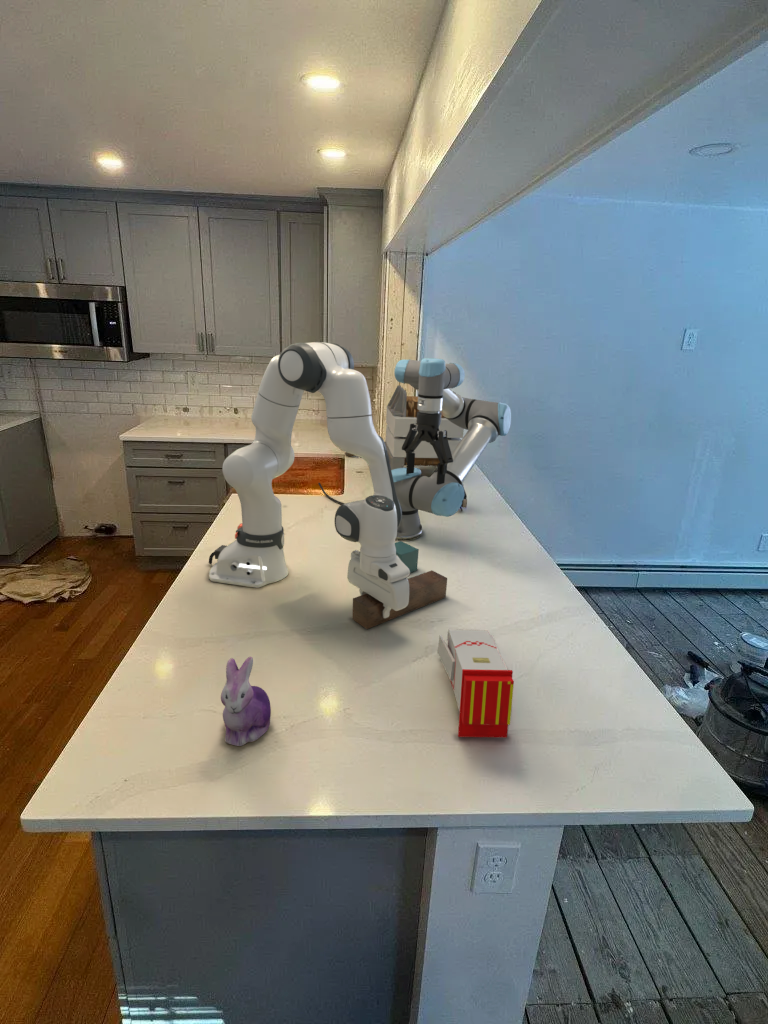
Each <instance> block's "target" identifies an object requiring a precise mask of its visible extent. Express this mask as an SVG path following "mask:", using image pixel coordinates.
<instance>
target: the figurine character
mask: <svg viewBox="0 0 768 1024" xmlns="http://www.w3.org/2000/svg"><path fill="white" fill-rule="evenodd" d="M463 488H464V499H463V500H462V505H461V507H460V508H459V510H460V512H463V509H464V508H465V509H466V508H467V506H468V499H467V497H468V496H467V495H468V494H467V493H466V490H465V487H464V486H463Z"/></svg>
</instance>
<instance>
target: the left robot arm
mask: <svg viewBox="0 0 768 1024" xmlns="http://www.w3.org/2000/svg"><path fill="white" fill-rule="evenodd" d="M352 355H353V354H352V353H351V351H349V350H348V349H347V347H344V346H343V345H341V344H339V343H334V342H333V343H331V342H325V341H313V342H295V343H292V344H289V345H288V346H286V347H284V348H283V349H282V351H281V352H280V353H279V354H276V355H275V356H273V357H272V358H271V359H270V361H269V362H268V365H267V366H266V369H265V371H264V373H263V376H262V378H261V381H260V384H259V387H258V390H257V394H256V398H255V401H254V405H253V408H252V412H251V416H250V419H251V423H252V424H253V426H254V428H255V434H254V435H255V436H254V439H253V442H252V443H251V444H248V445H244V446H243V447H240V448H237V449H236V450H234V451H233V452H232V453H231V454H229V455H228V456H227V457H225V459H224V460H223V463H222V468H221V469H222V475H223V478H224V480H225V482H226V483H227V484H228V485H229V486H230V487H231V488H233V489H234V490H235V492H236V495H237V497H238V500H239V503H240V509H241V522H242V523H241V522H240V523H239V524H238V526H237V528H236V530H235V534H234V541H232V542H231V543H229V544H228V545H224V544H222V545H220V546H219V547H217V548H216V549H215V550H214V551H213V552H211V553H210V554H209V557H208V564H211V565H212V564H213V558H214V559H215V560H217V561H216V562H215V563H214V564H213V565H212V566H211V568H210V570H209V571H208V579H209V581H211V582H214V583H221V584H227V585H235V586H240V587H241V586H243V587H248V588H255V589H257V588H262V587H264V586H266V585H270V584H273V583H276V582H279V581H281V580H283V579H285V578H287V576H288V575H289V568H288V565H287V561H286V557H285V551H284V546H285V532H284V531H285V530H284V526H283V508H282V507H283V506H282V502H281V499H280V498H279V497H277V496H276V495H275V493H274V490H273V486H272V483H273V480H274V479H276V478H277V477H280V476H282V475H284V474H285V473H286V472H287V471H288V470H289V469H290V468H291V467H292V465H293V464H294V462H295V451H294V448H293V445H292V435H293V429H294V425H295V422H296V418H297V416H298V412H299V409H300V405H301V401H302V398H303V395H304V392H307V393H310V394H315V393H317V392H319V394H321V395H322V397H323V399H324V402H325V413H326V427H327V433H328V436H329V439H330V441H331V442H332V444H333V445H334V446H335V447H336V448H338V450H341V451H342V452H344V453H346V452H347V453H350V454H353V456H357V457H359V458H361V459H363V460H364V461H365V462H366V464H367V466H368V469H369V474H370V480H371V485H372V489H373V495H369V496H366V497H365V498H364V499H360V500H354V501H350V502H344V503H345V504H343V505H342V504H340V505H339V506H338V507H337V509H336V510H335V514H334V528H335V532H336V533H337V534H338V535H339V536H340V537H341V538H343V539H345V540H346V541H349V542H352V543H359V545H360V547H359V548H360V549H359V550H358V549H355V550H353V551H352V552H351V553H350V559H349V562H348V568H347V581H348V583H350V584H351V585H353V586H354V587H356V588H357V589H358V590H359V591H358V592H359V594H360V595H359V596H361V595H364V594H369V595H371V596H372V597H374V598H375V599H377V600H379V601H380V602H382V603H383V606H384V607H385V608H384V610H381V616H382V617H383V618H387V617H389V614H390V610H391V609H393V610H395V611H398V610H401V609H403V608H405V607H406V606H407V605H408V603H409V582H408V579H409V578H408V577H409V576H410V574H411V573H410V570H409V568H408V567H407V566H406V565H405V564H404V563H403V562H402V561H401V560H400V559H399V557H398V556H397V555H396V547H395V543H396V540H395V539H396V536H397V528H398V526H399V524H400V522H401V519H402V510H401V506H400V504H399V501H398V498H397V495H396V491H395V487H394V482H393V477H392V472H391V467H390V462H389V457H388V453H387V449H386V445H385V442H386V441H385V439H383V437H382V436H381V435H379V434H378V433H377V430H376V427H375V425H374V421H373V414H372V413H373V411H372V402H371V401H372V400H371V396H370V391H369V387H368V383H367V379H366V377H365V376H364V374H363V373H362V372H360V371H358V370H356V369H355V361H354V358H353V356H352Z"/></svg>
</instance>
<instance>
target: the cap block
mask: <svg viewBox="0 0 768 1024" xmlns="http://www.w3.org/2000/svg"><path fill="white" fill-rule="evenodd" d="M395 547H396V555H397V556H398V557H399V559H400V560H401V561H402V562H403V563H404V564H405V565H406V566H407V567H408V568H409V570H410V574H411V573H414V572H416V571H418V563H419V551H420V549H418V548H417V547H415V546H412V545H410V544H409V543H406V542H404V541H403V540H398V541H395Z"/></svg>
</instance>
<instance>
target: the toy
mask: <svg viewBox="0 0 768 1024" xmlns="http://www.w3.org/2000/svg"><path fill="white" fill-rule="evenodd" d="M446 640H447V643H446V641H445V639H444V636H443V635H442V634H439V637H438V646H437V656H438V657H439V659H440V661H441V663H442V666H443V668H444V670H445V672H446V674H447V677H448V679H449V681H450V684H451V687H452V690H453V693H454V697H455V701H456V705H457V708H458V711H459V714H458V715H459V716H458V730H457V731H458V732H457V737H458V738H508V731H509V726H510V725H511V717H512V707H513V697H514V696H513V695H514V684H515V680H514V679H513V673H514V671H513V670H512V669H508V667H507V665H506V662H505V661H504V659H503V658H502V655H501V653H500V651H499V649H498V647H497V643H496V639H495V637H494V635H493V634H491V632H490V631H489V629H467V628H466V629H465V628H463V629H461V628H460V629H459V628H448V630H447V639H446Z"/></svg>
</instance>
